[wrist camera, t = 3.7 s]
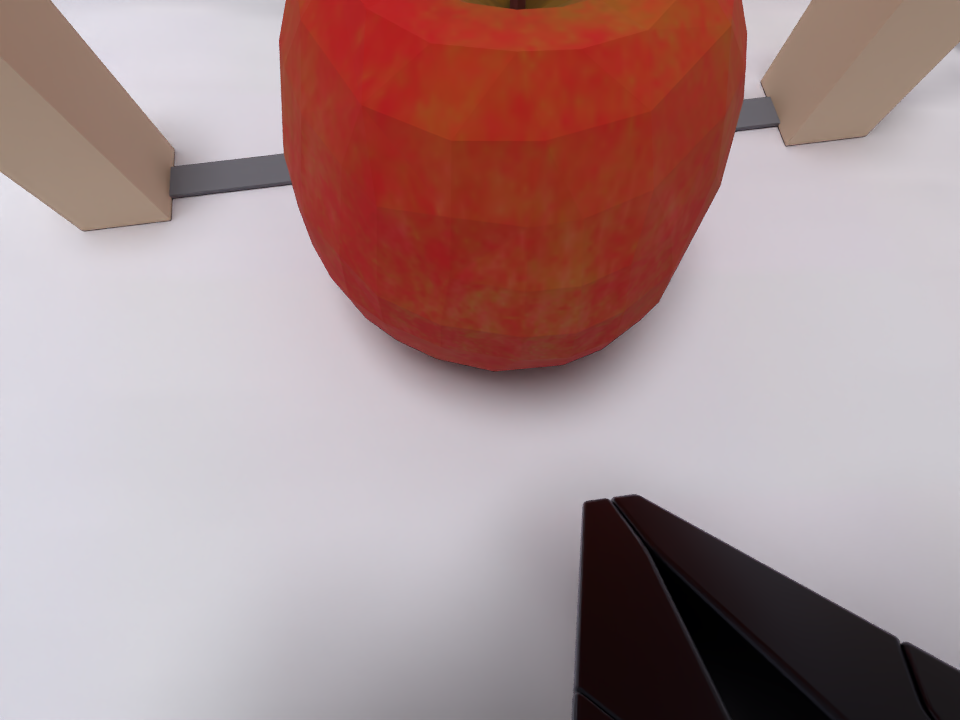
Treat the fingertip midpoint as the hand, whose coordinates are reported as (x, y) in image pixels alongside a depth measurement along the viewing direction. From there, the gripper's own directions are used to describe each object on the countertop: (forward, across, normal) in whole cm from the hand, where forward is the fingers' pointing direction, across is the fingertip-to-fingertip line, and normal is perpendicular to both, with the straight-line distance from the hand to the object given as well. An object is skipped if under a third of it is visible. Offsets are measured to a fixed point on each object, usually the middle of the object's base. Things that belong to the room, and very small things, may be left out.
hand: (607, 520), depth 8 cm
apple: (+12, 0, +1) cm, 12 cm away
